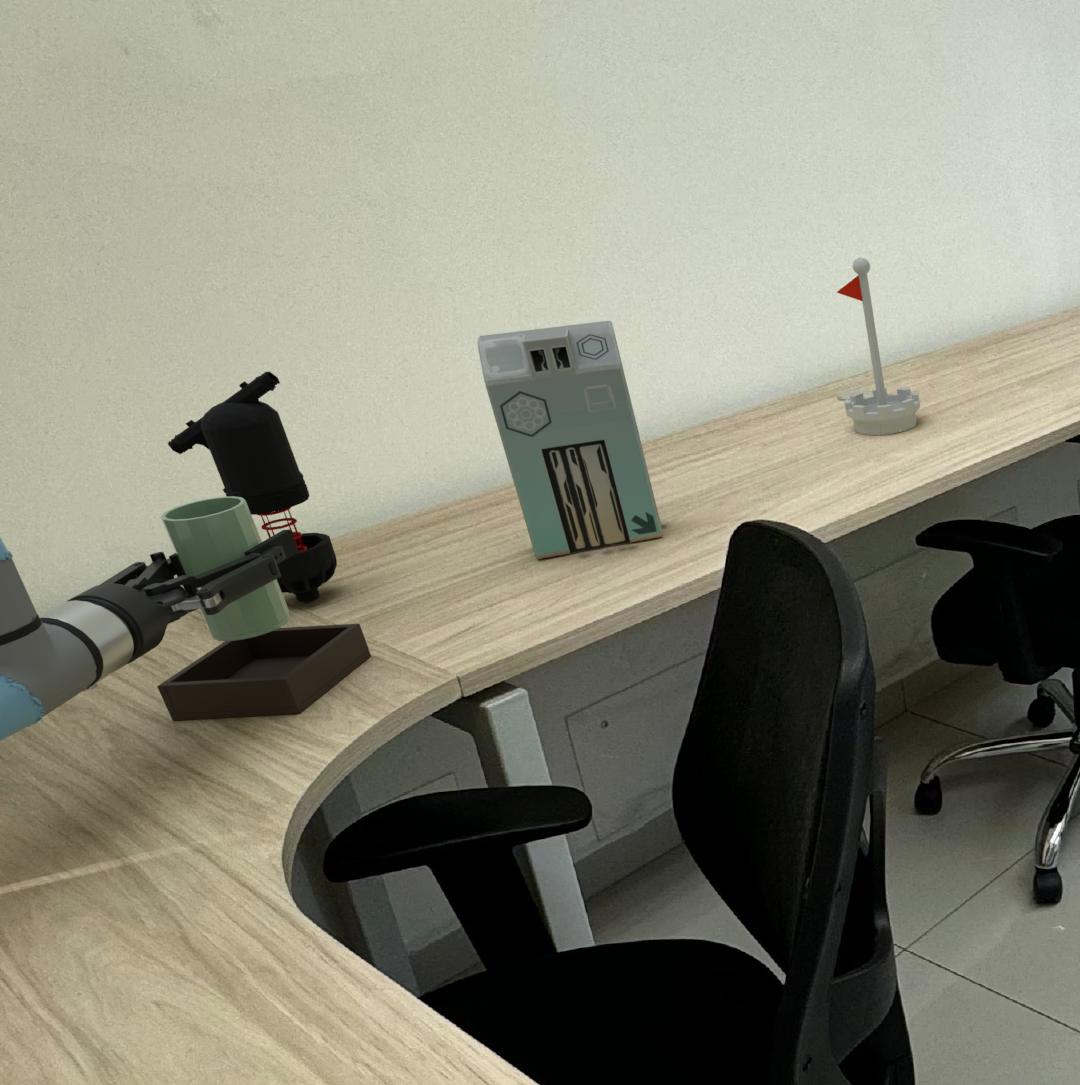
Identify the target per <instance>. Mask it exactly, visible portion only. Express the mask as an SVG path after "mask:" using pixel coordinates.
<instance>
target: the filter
mask: <svg viewBox="0 0 1080 1085" xmlns="http://www.w3.org/2000/svg"><path fill="white" fill-rule="evenodd" d="M278 385H281V381H280V380H279V378H278V376H277V375H275V374H274V373H272V372H271V371H265V372H263V373H261V375H258V376H256V377H255V378H254V379H253V380H251V381H250V382H249V383H248V382H247V381H242V382H241V383H240V384H239V385H238V387H239V388H240V389H239V390H238V391H237V392H235V393H234V394H232V395H231V396H229V397H228V398H227V399H225V400H224V401H222V402H219V403H218V404H215V405H214V406H212V407H211V408H210V409H209V410H207V412H205V413H204V414H203V416H202V417H201V418H199V419H197V420H196V421H194V420H193V419H189V421H187V422H186V423H185V425H186V427H187V428H185V429H184V430H182V431H180V432H179V433H178V434H175V436H174V437H173V438H171V440H168V442H167V445H168V446H169V448H170V449H171V450H172V452H175V453H177V454H178V455H182V454H183V453H186V452H188V451H189V450H192V449H193V448H194V446H196V445H200V446H203V447H204V448H206V449H207V450H209V452H210V454H211V457H212V460H213V462H214V464H215V467H216V470H217V472H218V475H219V477H220V480H221V482H222V485H223V488H222V491H223V493H224V494H225V497H229V496H235V497H242V498H243V499H245V500H246V503H247V505H248V508H249V510H250V513H251V515H252V516H254V515H257V516H260V518H261V520H262V523H263V524H261V530H264V531H266V533H267V536H268V538H270V537H272V536H274V535H275V534H276V533H275V532H274V530H280V529H285V528H288V529H289V530H291V533H292V536H293V538H294V541H295V543H296V546H297V549H298V551H299V552H298V553H296V554H294V555H293V556H291V557H289V558H288V559H286V560H285V561H283V562H281V563H280V564H278V565H277V567H278V569H279V572H280V574H281V577H279V578H277V582H278V584H279V587H280V589H281V592H282V594H285V593H286V594H293V595H295V598H296V600H297V601H298V602H300V603H306V602H312V601H314V600H317V599H318V598H320V596H321V595H320V592H319V588H320V587H321V586H323V584H326V583H327V582H328V581H330V580H331V579H332V577H333V576H334V575H335V571H336V568H337V565H338V562H337V556H336V555H337V554H336V553H335V549H334V547H333V544H332V540H331V537H330V535H328V534H326V533H319V532H305V533H303V532H301V531H298V529H297V526H296V524H297V522H298V520H297V518H295V517H292V513H291V511H290V510H291V509H292V508H293V507H295V506H298V505H300V504H303V503H305V502H306V501H308V500H309V497H310V491H309V489H308V485H307V484H306V481H305V479H304V474H303V473H302V472H301V471H300V468H299V466H298V462H297V461H296V458H295V455H294V452H293V449H292V446H291V443H290V440H289V438H288V436H287V433H286V430H285V426H284V425H283V423H282V422H283V421H282V419H281V416H280V414H279V412H278V410H276V409H274V408H273V407H272V406H271V405H269V404H268V403H266V402H263V401H260V400H259V399H260V398H262V397H263V396H265V395H266V394H267V393H269V392H270V391H271V392H273V391H274V390H275V389H276V388H277V387H276V386H278ZM287 511H288V514H289V517H287V514H286V512H287ZM282 513H283V514H284V517H283V518H277V519H274V520H271V521H270V519H269V518H268V516H273V515H277V514H282ZM264 516H265V517H266V519H267V522H266V521H265V519H264ZM280 522H287V523H286V524H282V525H278V526H277V525H276V526H272V524H276V523H280ZM291 526H293V529H294V531H293V530H292V527H291ZM270 531H271V533H272V535H271V534H270Z"/></svg>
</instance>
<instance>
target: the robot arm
mask: <svg viewBox="0 0 1080 1085" xmlns="http://www.w3.org/2000/svg"><path fill="white" fill-rule="evenodd" d="M274 534H275V535H274V536H273V535H271V537H270V538H269V537H268V538H266V539H265V540H263V541H262V542H261V543H260V544H258V545H256V546H255V547H253V548H251V549H249V550H248V551H246V552H244V553H245V555H246V556H245V557H242V558H240V559H237V560H234V561H232V562H229V563H227V564H224V565H221V566H219V567H216V568H214V569H211V570H208V571H206V572H203V573H201V574H198V575H196V576H186V575H185V574H184V571H183V569H182V566H181V564H180V562H179V559H178V557H177V555H176V552H174V553H173V554H170V555H169V556H168V558H167V557H166V555H165V552H164V551H158V552H157V551H156V552H154V553H150V554H149V557H150V560H151V561H152V562H151V563H150V564H148V565H147V564H146V562H145V561H135V562H134V563H132V564H130V565H128V566H127V567H125V568H124V569H122V570H121V571H119V572H117V573H116V574H114V575H113V576H111V577H109V578H108V579H106V580H104V581H103V582H101V583H100V584H98V585H95V586H93V587H90V588H89V589H86V590H84V591H83V592H81V593H79V594H77V595H75V596H73V597H72V598H69V599H67V600H66V601H64V602H60V603H58V604H56V605H55V606H53V607H51V608H49V609H48V610H45V611H43V612H42V613H40V614H38V612H37V610H36V608H35V605H34V604H33V602H32V599H31V597H30V595H29V592H28V591H27V588H26V586H25V584H24V582H23V579H22V577H21V575H20V573H19V571H18V569H17V566H16V565H15V562H14V560H13V554H12V552H11V551H10V550H8V548H7V546H6V545H5V543H4V541H3V539H2V537H0V742H1V741H3V740H5V739H7V738H9V737H11V736H13V735H15V734H16V733H18V732H21V731H23V730H24V729H26V728H28V727H31V726H33V725H36V724H38V723H39V722H40V721H41V720H43V718H44V717H45V716H47V715H48V714H50V713H51V712H53V711H55V710H56V709H58V708H59V707H61V706H62V705H64V704H66V703H67V702H68V701H70V700H71V699H73V698H75V697H76V696H78V695H79V694H81V693H83V692H86V691H89V690H94V689H96V688H97V687H98V683H100V682H101V681H103V680H104V679H106V678H108V677H109V676H110V675H111V676H112V675H113V674H114V673H115V672H117V671H119V670H121V669H122V668H123V667H125V666H127V665H128V664H131V663H133V662H135V661H136V660H138V659H139V658H140V657H143V656H144V655H146V654H148V653H149V652H150V651H152V650H154V649H155V648H156V647H158V646H159V645H160V644H161V642H162V641H163V639H164V637H165V634H166V630H167V628H168V625H169V624H171V623H175V622H176V621H178V620H180V619H181V618H182V617H185V616H186V615H188V614H190V613H193V612H194V611H197V610H200V608H204V611H205V613H206V615H214V614H217V613H219V612H220V611H221V610H222V609H224V608H225V607H226V606H227V605H228V604H230V603H232V602H234V601H236V600H238V599H240V598H241V597H243V596H245V595H247V594H249V593H251V592H253V591H255V590H257V589H258V588H260V587H262V586H264V585H266V584H268V583H270V582H272V581H274V580H275V579H277V578H279V577H281V574H280V572H279V569H278V567H277V565H278V564H280V563H281V562H283V561H285V560H286V559H288V558H289V557H291V556H293V555H294V554H296V553H298V552H299V551H298V549H297V546H296V543H295V541H294V538H293V536H292V533H291V530H290V529H283V530H281V531H279V532H277V533H274ZM175 576H176V577H175Z"/></svg>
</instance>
